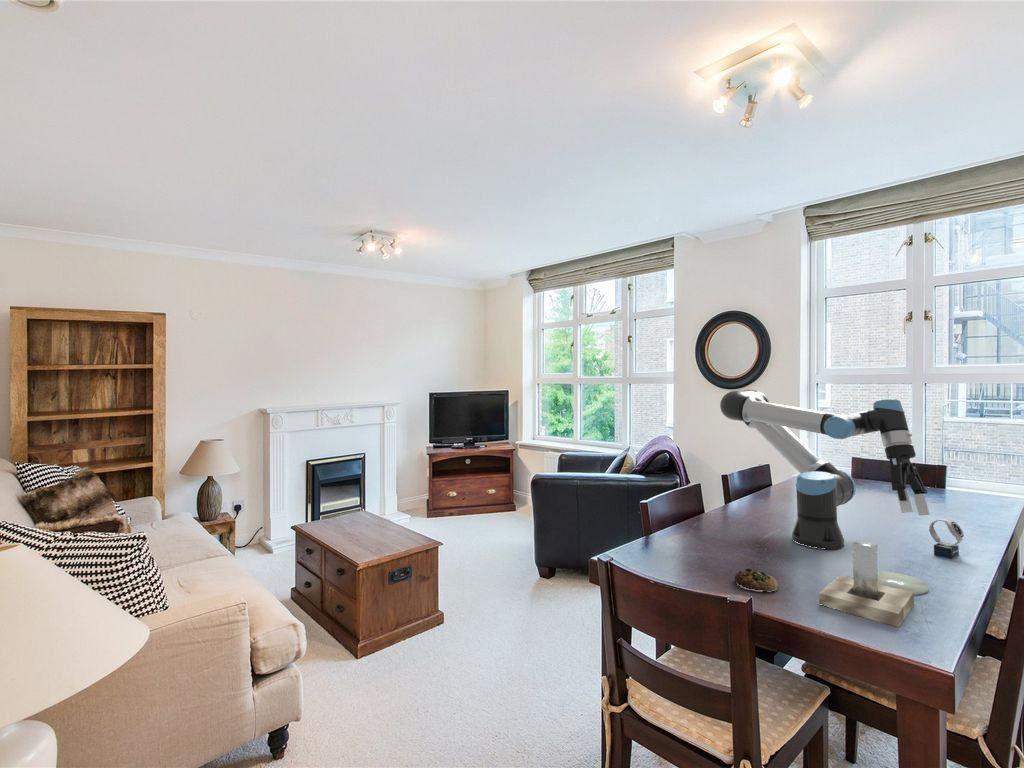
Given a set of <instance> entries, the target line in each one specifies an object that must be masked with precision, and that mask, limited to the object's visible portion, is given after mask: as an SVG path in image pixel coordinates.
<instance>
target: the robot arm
mask: <svg viewBox="0 0 1024 768" xmlns="http://www.w3.org/2000/svg"><path fill="white" fill-rule="evenodd" d="M719 403H720V405H719V407H720V408H719V409H720V411H721V413H722V414H723V416H724V417H726V418H727V419H729V420H732V421H740V422H743V423H744V424H745V425H746V426H747V427H748V428H749V429H755V430H756V431H758V433H759V434H761V436H763V438H764V439H765V440H767V442H769V444H771V445H772V447H773V448H774V449H775V450H776V451H777V452H778V453H779V454H780V455H781V456H782V457H783V458H785V460H786V461H787V462H788V463H789V464H791V465H792V466H793V468H794V469H795V470H796V471H797V472H798V473H799V474H798V475H797V476H796V483H795V489H796V510H797V511H796V512H797V513H796V515H797V516H796V517H797V518H796V522H795V525H794V526H793V527H794V528H793V531H792V533H791V536H792V539H793V540H794V541H796V542H798V543H800V544H804V545H807V546H811V547H817V548H825V549H824V550H829V549H831V550H838V549H837V548H840V549H843V548H844V547H845V539H844V535H843V534H842V530H841V528H840V526H839V523H838V507H839V506H842V505H846V504H847V503H848V502H849V501H851V500H853V498H854V497H855V494H856V491H857V486H856V482H855V481H854V479H853V476H851V475H850V474H849V473H847V472H845V471H843V470H839V469H837V468H836V467H835V466H834V465H833V463H831V462H830V461H824V460H822V459H821V458H820V457H819V456H817V455H816V453H815V452H813V450H811V449H810V448H809V447H808V446H807V445H806V444H805V443H804V442H803V441H802V440H801V439H800V438H799V437H798V436H797V435H795V434H794V432H792V431H791V430H790V429H789V428H791V429H796V430H801V431H806V432H811V433H817V434H821V435H825V436H828V437H830V438H833V439H836V440H837V439H839V440H844V439H848V438H850V437H856V436H860V435H865V434H870V433H871V434H872V433H875V432H880V436H881V442H882V446H883V447H885V448H884V453H885V456H886V457H885V458H886V459H887V460H888V461H889V465H890V473H891V474H890V477H891V478H890V479H891V490H892V491H893V492H894V491H896V495H897V498H898V503H899V506H900V511H901V513H913V512H914V508H913V505H912V501H911V499H910V498H911V497H910V494H909V490H908V489H907V483H908V484H909V486H910V488H911V490H912V492H913V498H914V502H915V505H916V510H917V513H918V516H931V515H930V514H931V513H930V510H929V505H928V502H927V499H926V494H928V490H927V489H926V487H925V484H924V483H923V480H922V477H921V476H920V474H919V471H918V468H917V466H916V463H915V462H911V460H910V459H913V458H915V457H916V456H917V455H916V451H915V448H914V445H912V443H913V442H912V438H911V437H913V433H910V430H909V426H908V423H907V418H906V414H905V411H904V408H903V406H902V402H901V400H899V399H897V398H883V399H879V400H876V401H875V402H873V404H872V405H873V407H872V409H868V410H863V411H858V412H853V413H848V414H847V413H845V414H839V413H833V412H827V411H821V410H813V409H809V408H803V407H797V406H791V405H786V404H785V405H784V404H778V403H773V402H770V400H769V399H768V397H767V396H766V395H765V394H764V393H763V392H761V391H759V390H757V389H756V390H755V389H744V390H732V391H729V392H727V393H726V394H724V395H723V397H721V400H720V402H719ZM791 465H790V466H791ZM793 540H792V541H793ZM794 541H793V542H794ZM842 547H843V548H842Z"/></svg>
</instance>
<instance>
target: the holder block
mask: <svg viewBox="0 0 1024 768" xmlns="http://www.w3.org/2000/svg"><path fill="white" fill-rule="evenodd" d="M878 595H879V601H877V600H873V599H869V598H865V597H861V596H856V595H854V581H853V578H851V577H848V576H842V575H837V577H836V578H834V579H833V580H832V581H831V582H830V583H829V584H827V585H826V586H825V587H824V588H823V589H822V590H820V591H819V593H818V603H819V604H822V605H825V606H828V607H831V608H835V609H839V610H842V611H845V612H844V613H846V612H849V613H851V614H850V615H853V614H854V616H857V617H860V616H861V618H865V619H868V620H872V621H875V622H880V623H883V624H886V625H890V626H893V627H897V628H899V627H900V626H901V625H902V623H903V622H904V621H905V619H906V618H907V616H908V615H909V613H910V611H911V610H912V608H913V607H914V606H915V595H914V592H909V591H905V590H900V589H896V588H892V587H887V586H883V585H878ZM831 608H830V609H831ZM835 609H834V610H835ZM842 611H841V612H842ZM849 613H848V614H849Z"/></svg>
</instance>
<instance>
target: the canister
mask: <svg viewBox="0 0 1024 768" xmlns="http://www.w3.org/2000/svg"><path fill="white" fill-rule="evenodd" d="M851 547H852V548H851V549H852V570H853V571H852V573H853V574H852V575H853V578H852V579H853V581H854V595H856V596H861V597H865V598H869V599H873V600H877V601H879V595H878V571H879V569H878V568H879V566H878V562H879V561H878V546H877V544H875V543H873V542H869V541H868V542H867V541H861V540H860V541H859V540H858V541H857V540H856V541H852V543H851Z"/></svg>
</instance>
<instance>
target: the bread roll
mask: <svg viewBox="0 0 1024 768" xmlns="http://www.w3.org/2000/svg"><path fill="white" fill-rule="evenodd" d="M734 579H735V581H736V582H737V583H738V584H739V585H742V586H743V587H746V588H749V589H755V590H764V592H765V591H772V590H775V589H778V587H779V586H778V581H777V580H776V578H775V577H773V576H772V575H768V574H767V573H766V572H764V571H758V569H754V568H753V569H752V568H749V567H748V568H745V570H739V571H738V573H736V574H735V575H734V577H733V580H734ZM735 581H734V582H735Z"/></svg>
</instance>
